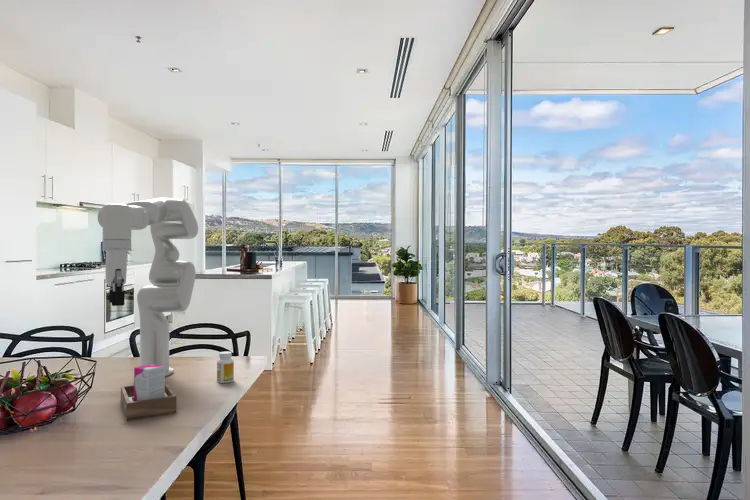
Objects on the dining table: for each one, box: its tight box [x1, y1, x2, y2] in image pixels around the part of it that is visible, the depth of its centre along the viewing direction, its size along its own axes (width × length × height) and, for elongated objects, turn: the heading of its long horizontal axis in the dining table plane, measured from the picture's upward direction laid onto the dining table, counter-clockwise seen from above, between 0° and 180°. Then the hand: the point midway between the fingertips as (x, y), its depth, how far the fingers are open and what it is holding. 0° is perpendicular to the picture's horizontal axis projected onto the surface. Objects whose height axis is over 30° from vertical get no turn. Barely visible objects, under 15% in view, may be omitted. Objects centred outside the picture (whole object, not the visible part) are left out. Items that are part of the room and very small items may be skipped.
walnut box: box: [120, 380, 177, 422], centre depth 136 cm, size 18×12×4 cm, turn 32°
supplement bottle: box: [216, 351, 235, 384], centre depth 163 cm, size 5×5×10 cm
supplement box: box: [133, 364, 166, 401], centre depth 134 cm, size 6×6×12 cm
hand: (116, 303), depth 142 cm, fingers open, 9 cm apart
